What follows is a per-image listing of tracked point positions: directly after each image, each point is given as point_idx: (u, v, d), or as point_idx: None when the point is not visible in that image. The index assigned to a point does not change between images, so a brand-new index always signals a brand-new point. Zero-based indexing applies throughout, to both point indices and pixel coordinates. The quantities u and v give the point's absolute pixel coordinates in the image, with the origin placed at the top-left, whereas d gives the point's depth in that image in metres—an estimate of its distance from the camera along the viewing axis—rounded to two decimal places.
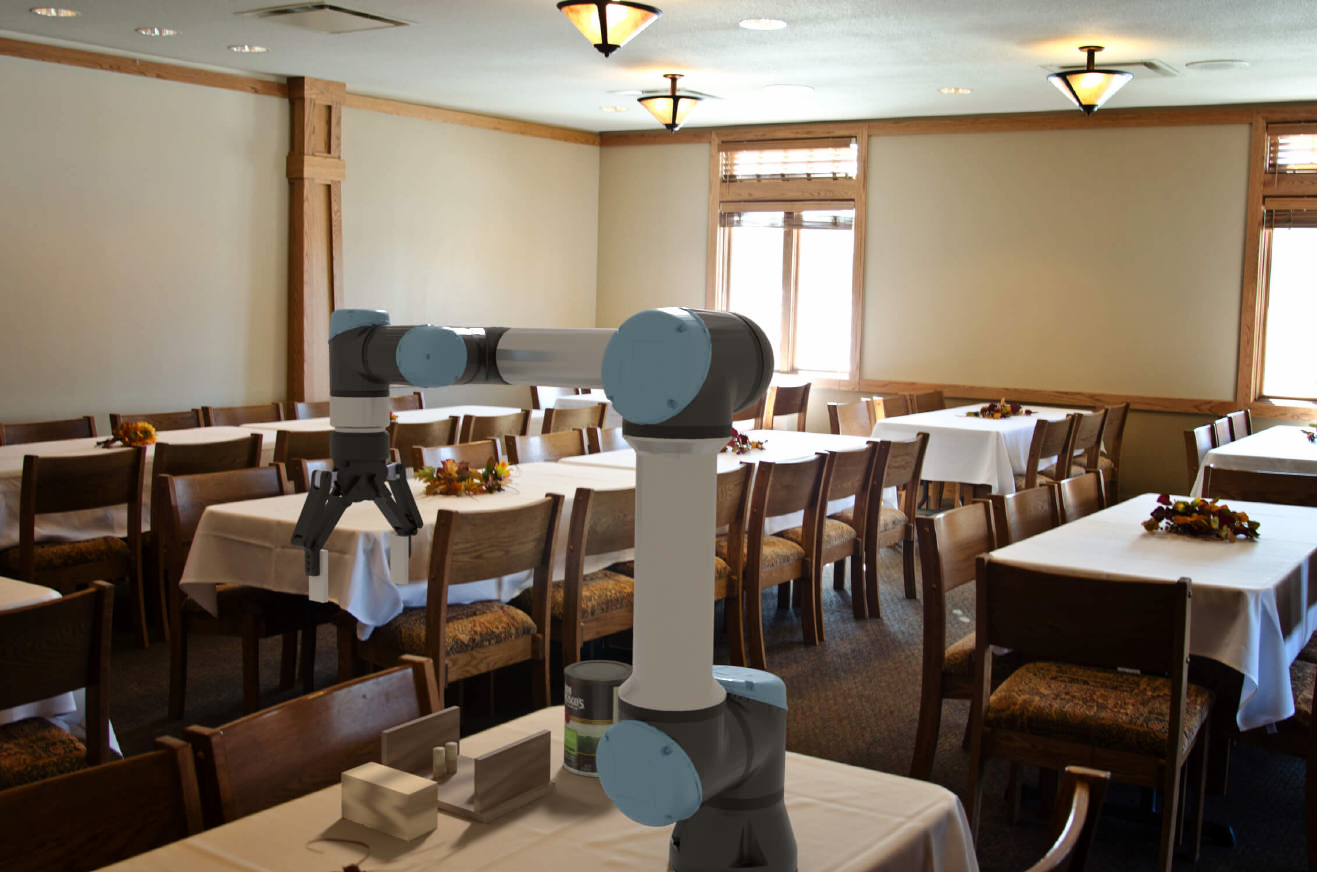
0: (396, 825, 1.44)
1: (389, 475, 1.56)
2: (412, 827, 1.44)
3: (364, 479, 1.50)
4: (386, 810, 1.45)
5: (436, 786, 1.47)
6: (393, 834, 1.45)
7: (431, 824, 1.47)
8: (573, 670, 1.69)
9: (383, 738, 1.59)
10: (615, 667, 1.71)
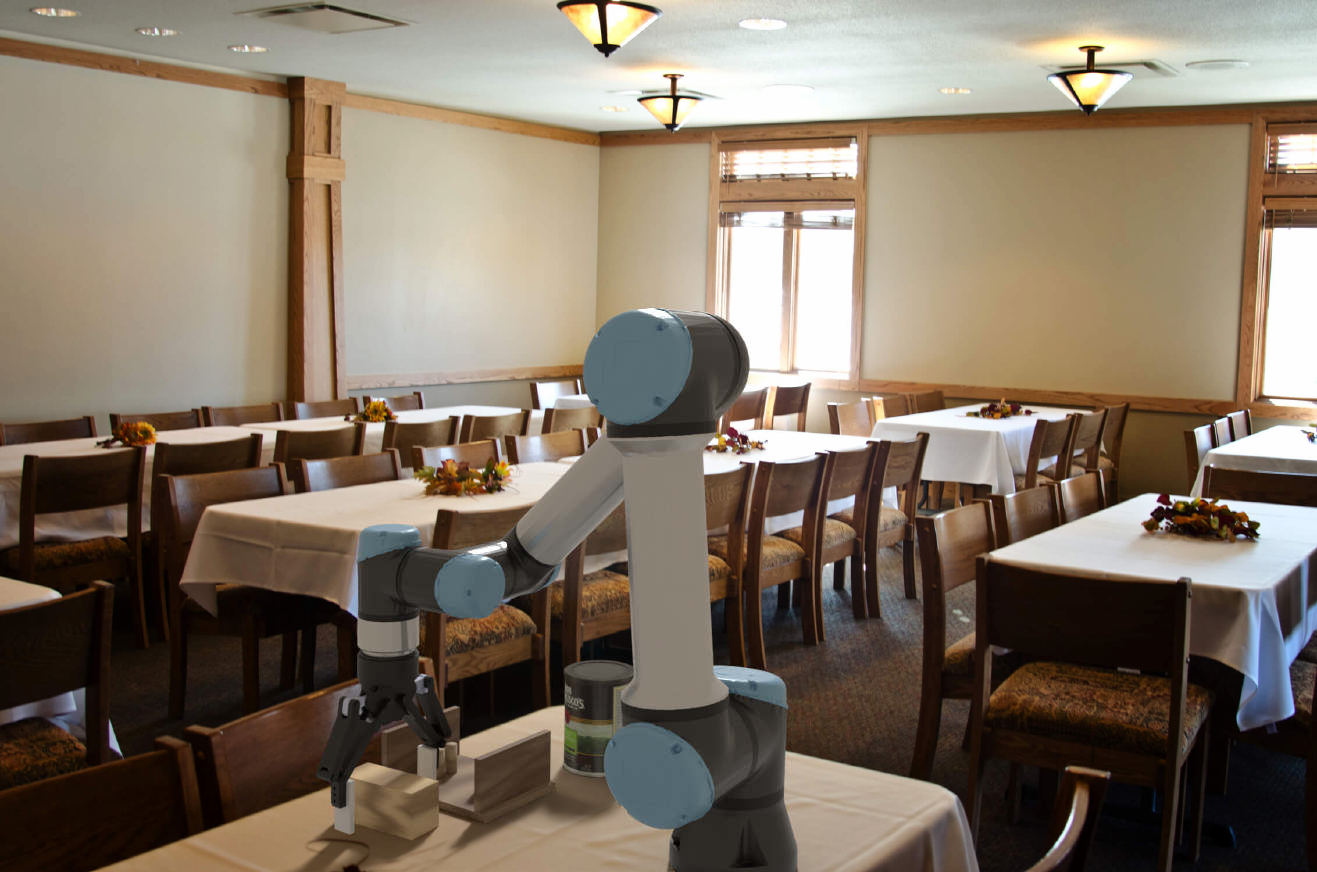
0: (398, 825, 1.45)
1: (417, 689, 1.51)
2: (415, 826, 1.44)
3: (392, 702, 1.46)
4: (388, 810, 1.45)
5: (437, 785, 1.47)
6: (395, 834, 1.45)
7: (433, 822, 1.47)
8: (573, 670, 1.69)
9: (383, 738, 1.59)
10: (615, 667, 1.71)
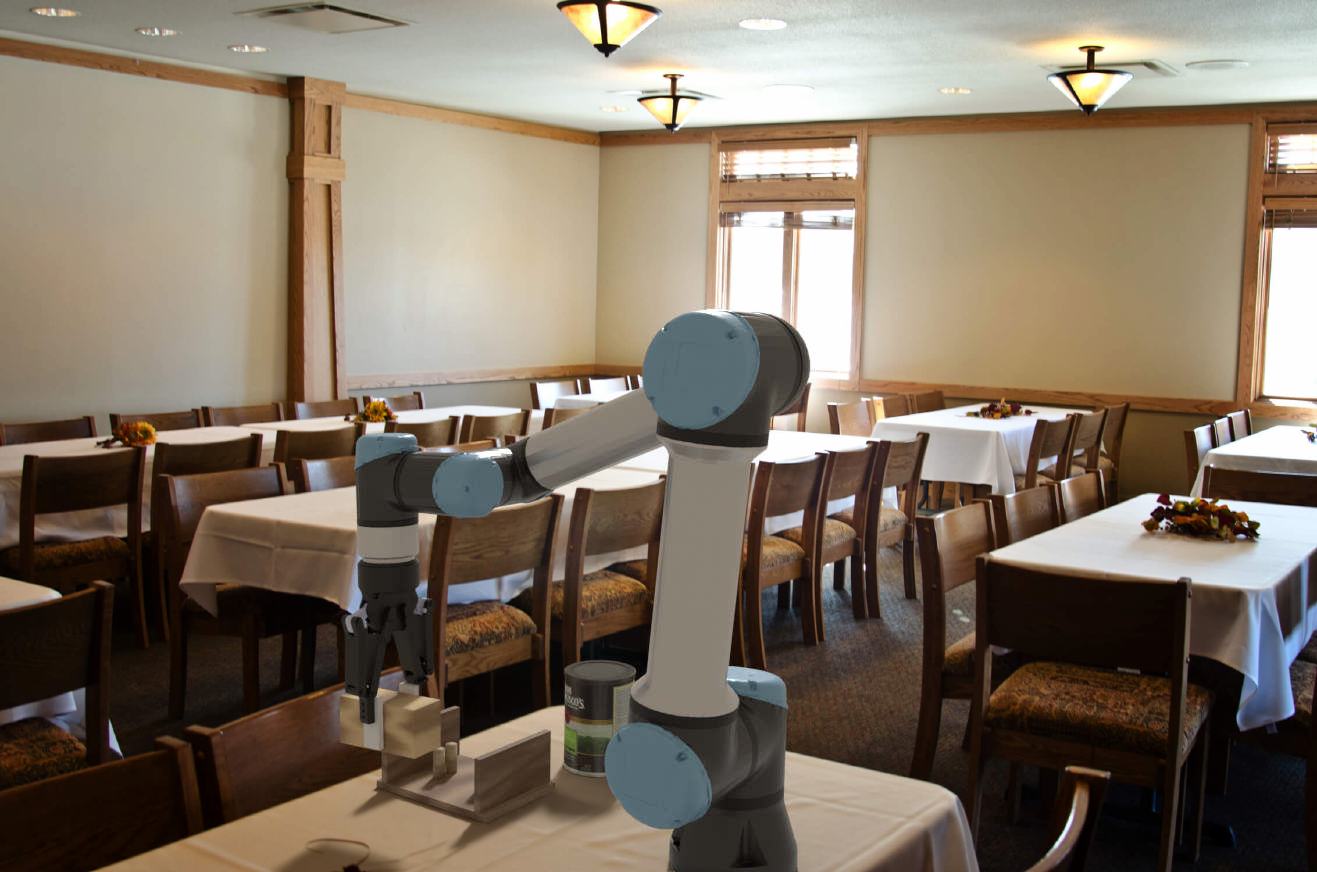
0: (400, 743, 1.44)
1: (416, 607, 1.50)
2: (418, 744, 1.43)
3: (393, 610, 1.44)
4: (390, 728, 1.44)
5: (439, 703, 1.47)
6: (398, 752, 1.44)
7: (435, 741, 1.46)
8: (573, 670, 1.69)
9: None
10: (615, 667, 1.71)
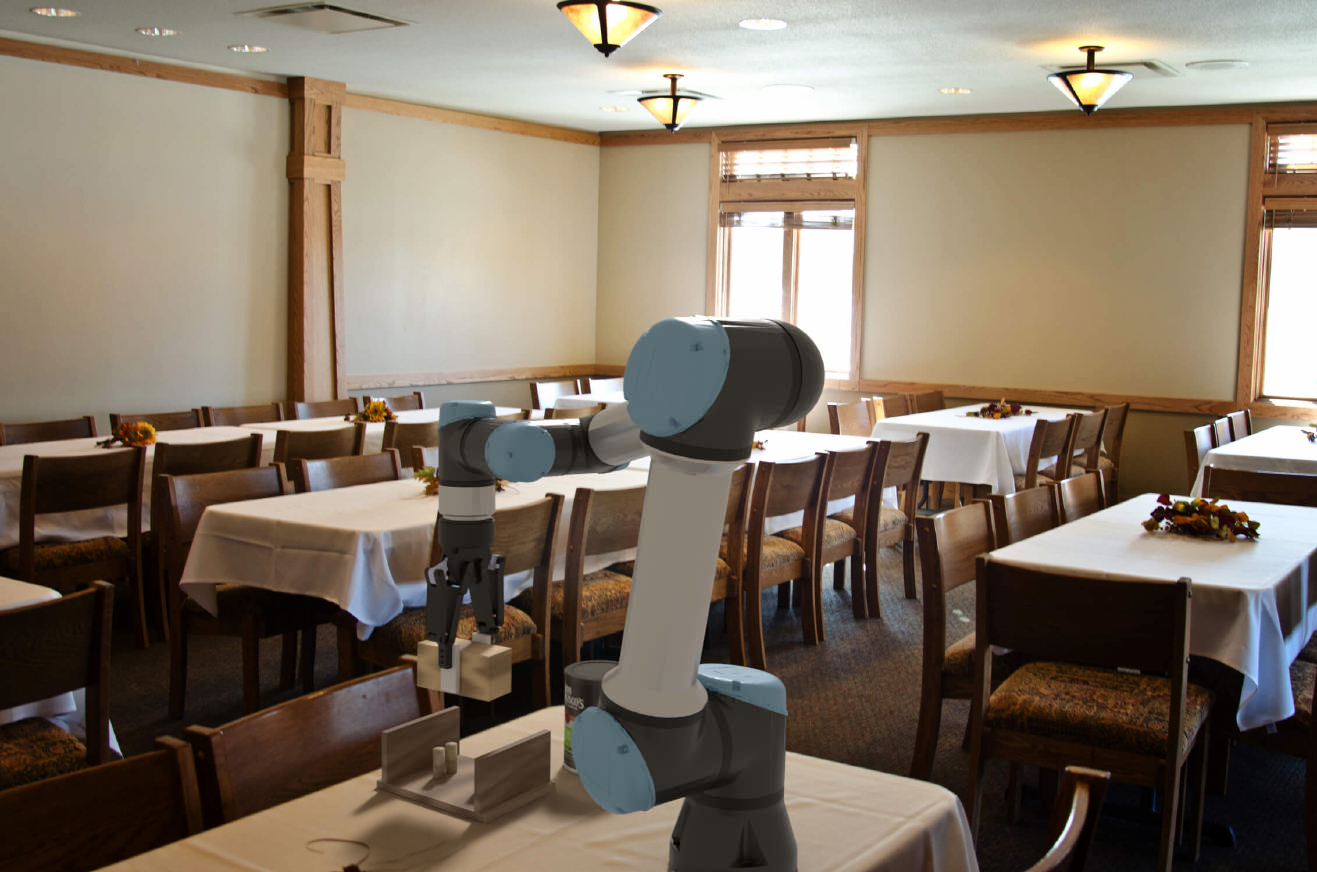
0: (475, 686, 1.55)
1: (490, 563, 1.61)
2: (492, 687, 1.55)
3: (471, 564, 1.56)
4: (465, 673, 1.56)
5: (510, 652, 1.58)
6: (473, 695, 1.55)
7: (506, 687, 1.58)
8: (573, 670, 1.69)
9: (383, 738, 1.59)
10: None
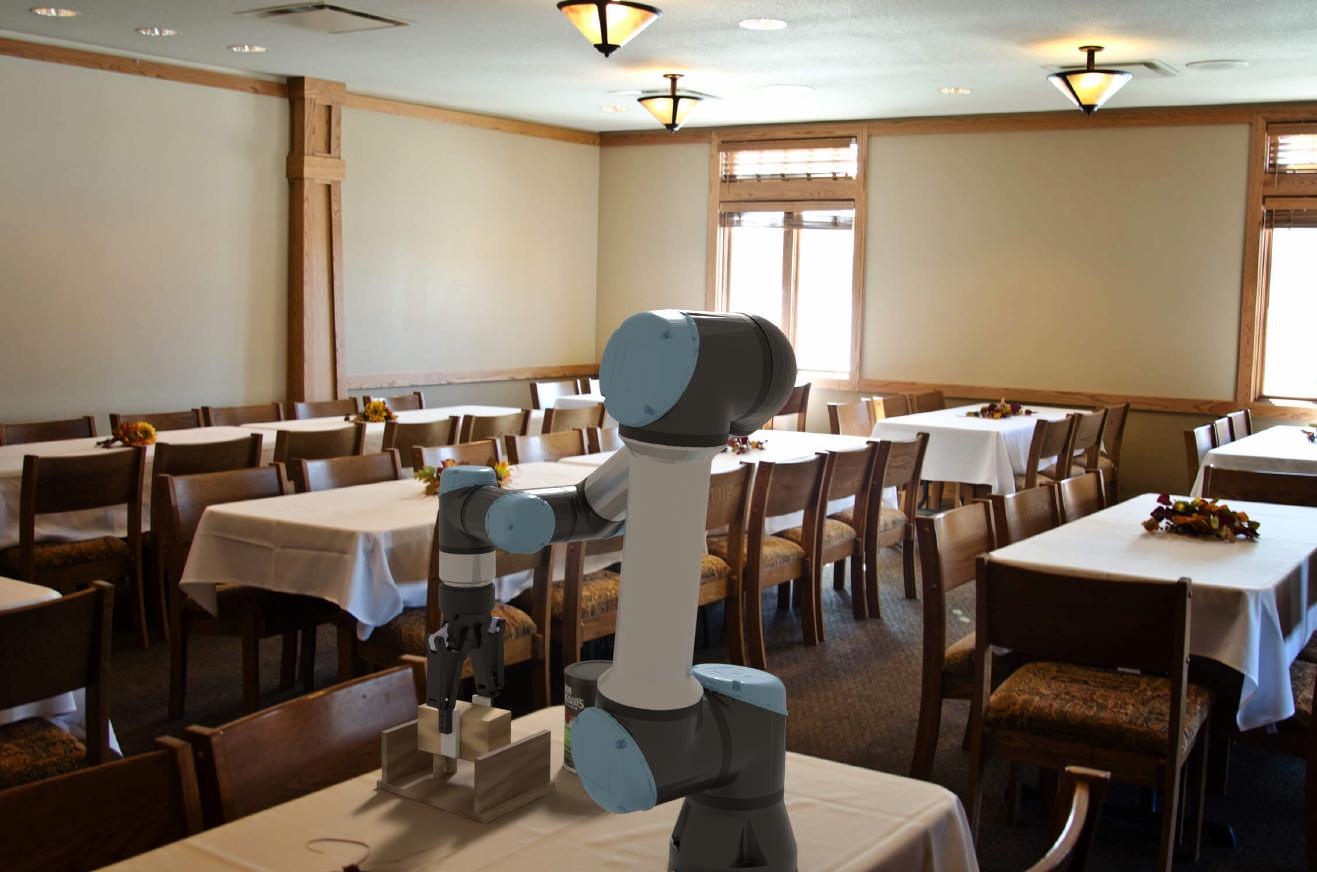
0: (475, 751, 1.56)
1: (490, 626, 1.62)
2: None
3: (471, 629, 1.57)
4: (465, 737, 1.57)
5: (510, 715, 1.59)
6: (472, 759, 1.56)
7: None
8: (573, 670, 1.69)
9: (383, 738, 1.59)
10: None
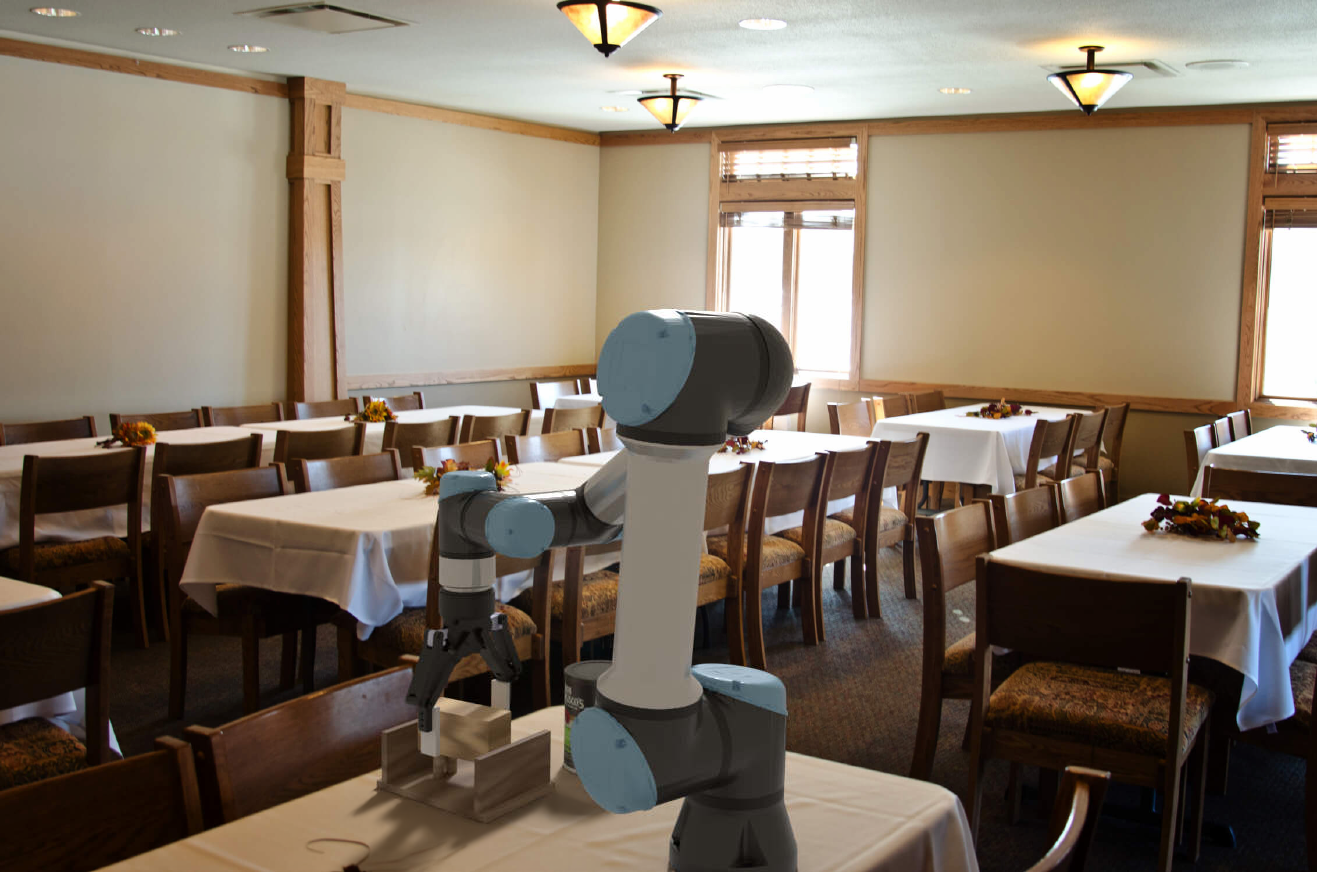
0: (475, 751, 1.56)
1: (492, 626, 1.62)
2: None
3: (472, 635, 1.57)
4: (465, 737, 1.57)
5: (510, 715, 1.59)
6: (472, 759, 1.56)
7: None
8: (573, 670, 1.69)
9: (383, 738, 1.59)
10: None
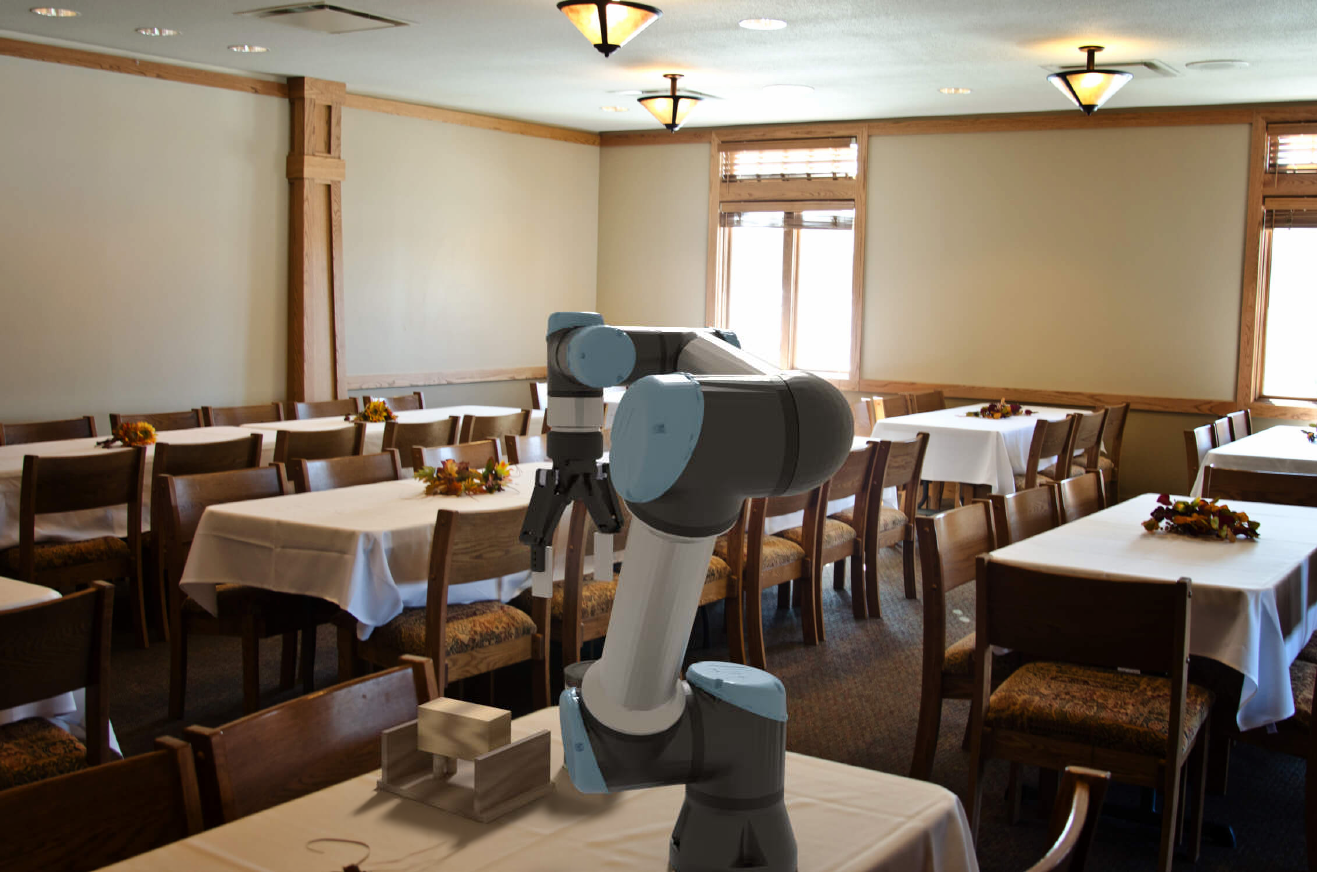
0: (475, 751, 1.56)
1: (597, 474, 1.60)
2: None
3: (582, 477, 1.54)
4: (465, 737, 1.57)
5: (510, 715, 1.59)
6: (472, 759, 1.56)
7: None
8: (573, 670, 1.69)
9: (383, 738, 1.59)
10: None
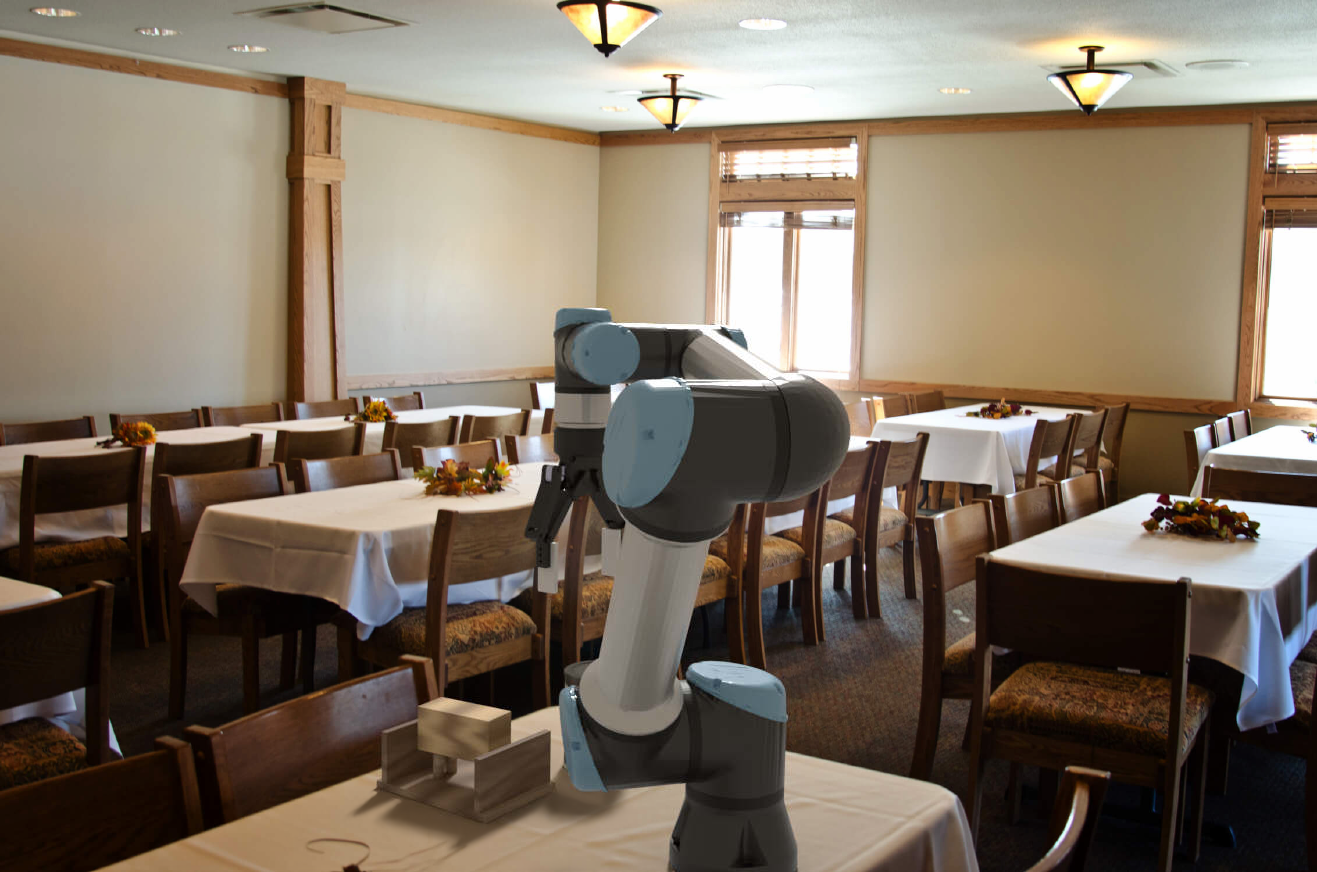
0: (475, 751, 1.56)
1: None
2: None
3: (588, 473, 1.54)
4: (465, 737, 1.57)
5: (510, 715, 1.59)
6: (472, 759, 1.56)
7: None
8: (573, 670, 1.69)
9: (383, 738, 1.59)
10: None
